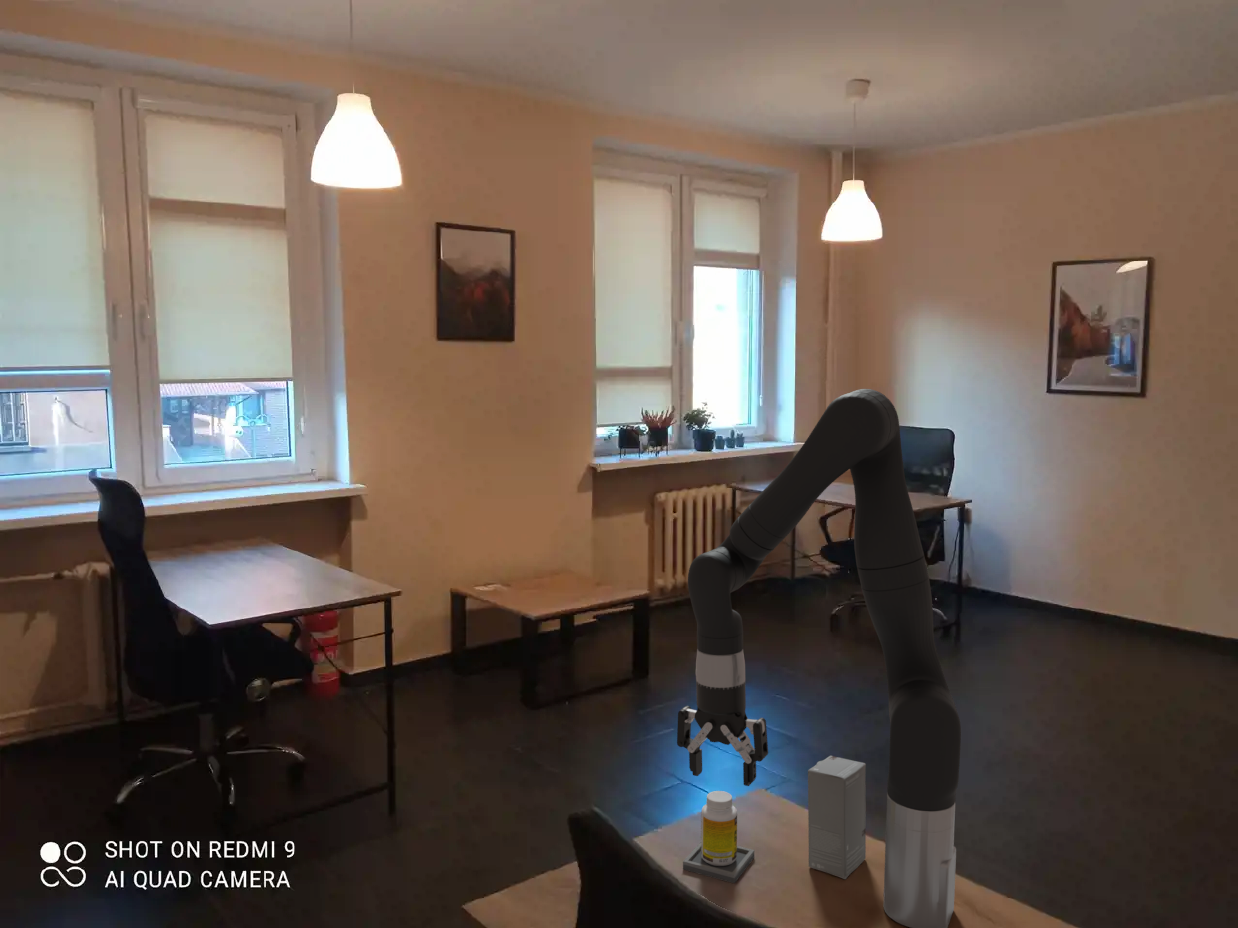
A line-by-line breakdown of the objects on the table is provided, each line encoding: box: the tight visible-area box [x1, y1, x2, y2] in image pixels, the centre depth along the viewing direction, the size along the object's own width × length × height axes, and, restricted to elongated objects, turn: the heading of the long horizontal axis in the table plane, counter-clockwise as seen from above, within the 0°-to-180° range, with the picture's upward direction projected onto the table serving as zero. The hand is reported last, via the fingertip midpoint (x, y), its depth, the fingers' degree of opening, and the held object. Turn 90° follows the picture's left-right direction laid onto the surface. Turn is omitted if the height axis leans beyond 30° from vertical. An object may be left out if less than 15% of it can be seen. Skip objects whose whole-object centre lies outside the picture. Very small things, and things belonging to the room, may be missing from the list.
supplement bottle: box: [700, 790, 738, 866], centre depth 151 cm, size 6×6×10 cm
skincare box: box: [807, 755, 867, 880], centre depth 151 cm, size 8×7×16 cm
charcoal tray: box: [682, 841, 755, 884], centre depth 152 cm, size 8×8×1 cm
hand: (722, 778), depth 151 cm, fingers open, 8 cm apart
